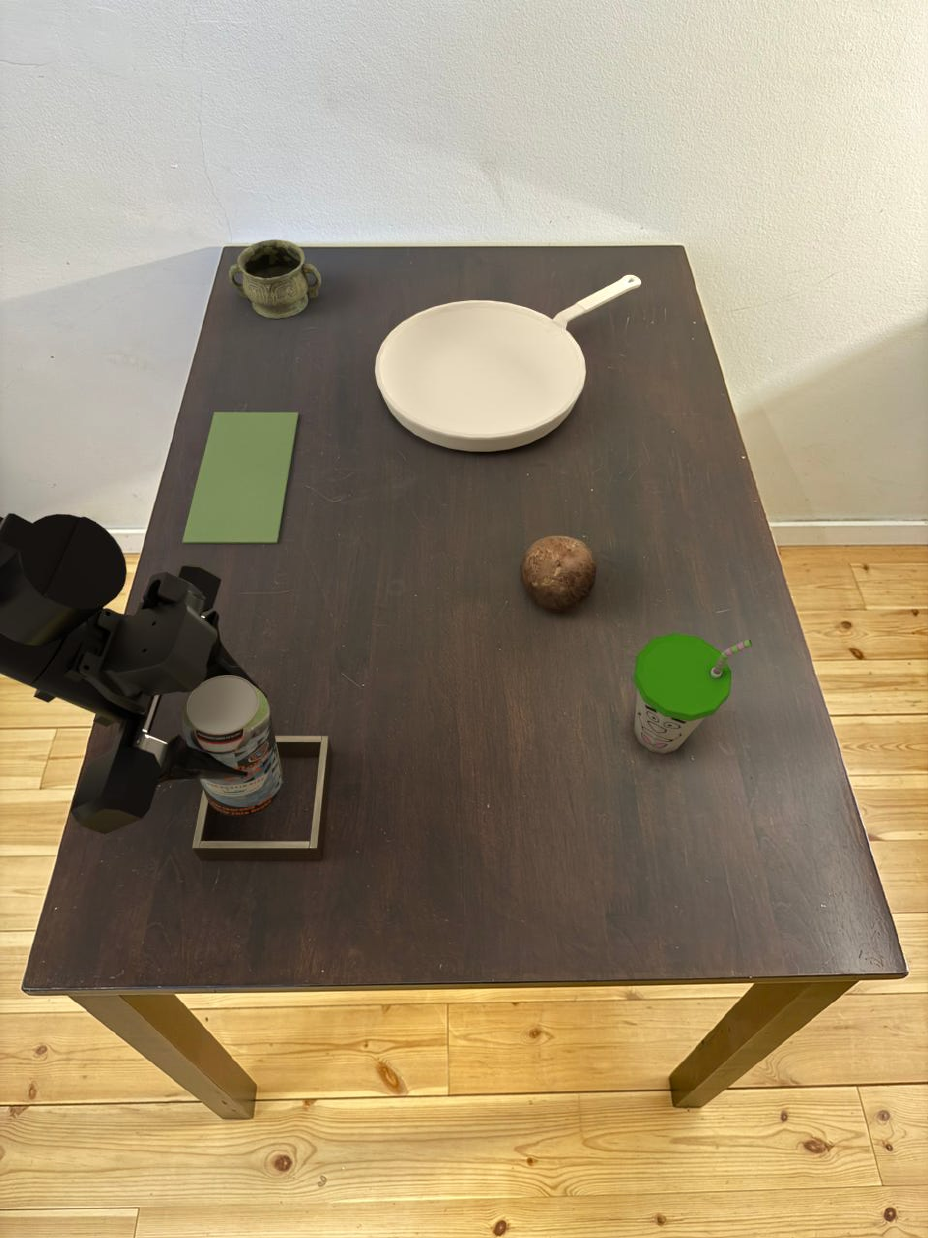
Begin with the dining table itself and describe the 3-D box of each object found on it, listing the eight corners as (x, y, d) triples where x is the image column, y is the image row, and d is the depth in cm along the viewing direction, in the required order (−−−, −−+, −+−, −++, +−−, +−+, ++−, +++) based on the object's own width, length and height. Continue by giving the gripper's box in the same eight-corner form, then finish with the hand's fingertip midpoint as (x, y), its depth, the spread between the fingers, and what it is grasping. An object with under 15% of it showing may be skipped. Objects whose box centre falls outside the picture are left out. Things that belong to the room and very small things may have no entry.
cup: (601, 744, 76) (628, 656, 64) (637, 680, 80) (669, 585, 68) (682, 786, 74) (726, 703, 62) (715, 718, 78) (763, 626, 65)
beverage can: (199, 820, 66) (154, 758, 56) (222, 734, 70) (184, 661, 60) (279, 827, 66) (249, 767, 56) (298, 740, 70) (272, 669, 60)
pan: (337, 377, 105) (332, 347, 101) (568, 263, 118) (571, 233, 115) (463, 494, 94) (464, 465, 90) (702, 353, 107) (710, 324, 104)
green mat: (182, 543, 90) (182, 541, 89) (214, 413, 101) (214, 411, 101) (277, 543, 90) (276, 541, 89) (298, 414, 101) (298, 412, 101)
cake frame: (201, 860, 70) (191, 848, 68) (221, 750, 76) (213, 735, 73) (321, 860, 70) (316, 848, 68) (332, 750, 76) (328, 735, 73)
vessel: (327, 281, 116) (321, 238, 111) (320, 322, 111) (314, 279, 106) (240, 281, 116) (230, 238, 111) (229, 321, 111) (218, 278, 106)
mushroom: (602, 533, 86) (581, 518, 81) (614, 609, 84) (593, 600, 79) (531, 551, 90) (506, 538, 84) (540, 624, 88) (515, 616, 82)
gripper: (49, 745, 44) (293, 839, 52) (155, 481, 54) (344, 596, 63) (-29, 792, 50) (199, 869, 59) (79, 549, 61) (259, 645, 70)
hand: (254, 737), depth 62 cm, fingers closed on beverage can, 6 cm apart
